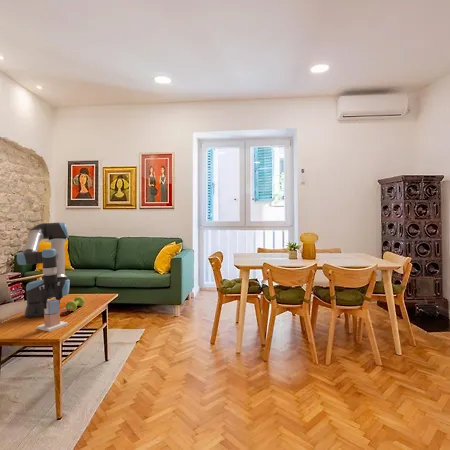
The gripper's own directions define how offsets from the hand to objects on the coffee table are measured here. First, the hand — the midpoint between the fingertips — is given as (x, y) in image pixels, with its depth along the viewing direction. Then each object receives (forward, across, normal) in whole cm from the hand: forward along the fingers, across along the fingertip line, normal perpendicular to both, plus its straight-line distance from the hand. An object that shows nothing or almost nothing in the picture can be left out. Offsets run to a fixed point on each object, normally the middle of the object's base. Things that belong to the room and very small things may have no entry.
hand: (52, 311), depth 192 cm
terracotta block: (+8, 0, 0) cm, 8 cm away
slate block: (0, 0, 0) cm, 0 cm away
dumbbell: (+9, +32, +21) cm, 39 cm away
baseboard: (+9, 0, 0) cm, 9 cm away
